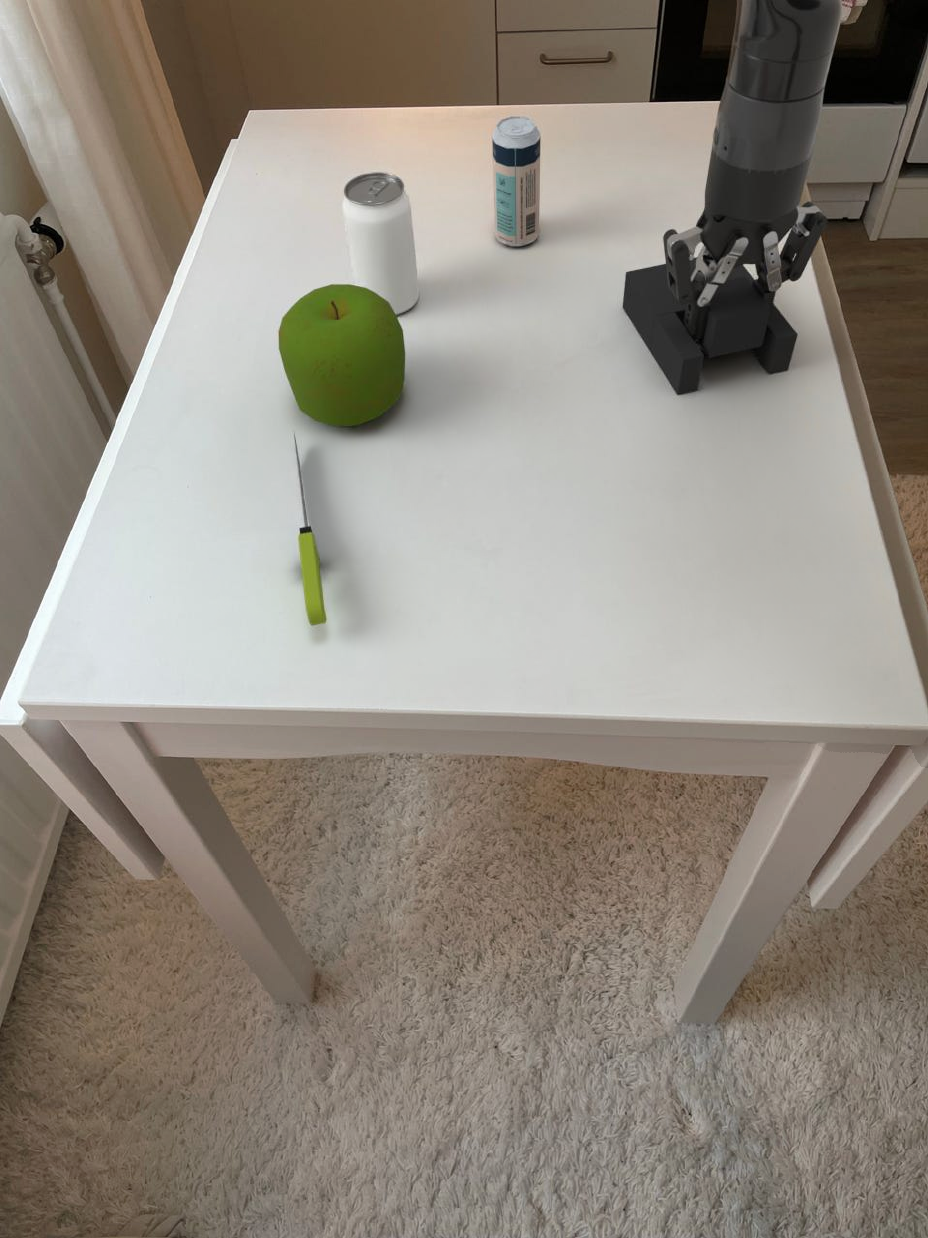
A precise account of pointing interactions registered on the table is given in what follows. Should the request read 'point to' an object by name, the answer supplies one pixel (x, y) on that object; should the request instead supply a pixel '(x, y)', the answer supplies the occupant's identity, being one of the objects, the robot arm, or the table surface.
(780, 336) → the black flat forked piece
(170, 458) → the table surface
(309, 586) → the kitchen knife
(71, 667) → the table surface
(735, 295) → the black block
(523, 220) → the beer can
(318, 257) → the table surface
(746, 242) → the robot arm
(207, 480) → the table surface
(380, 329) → the apple
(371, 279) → the can
